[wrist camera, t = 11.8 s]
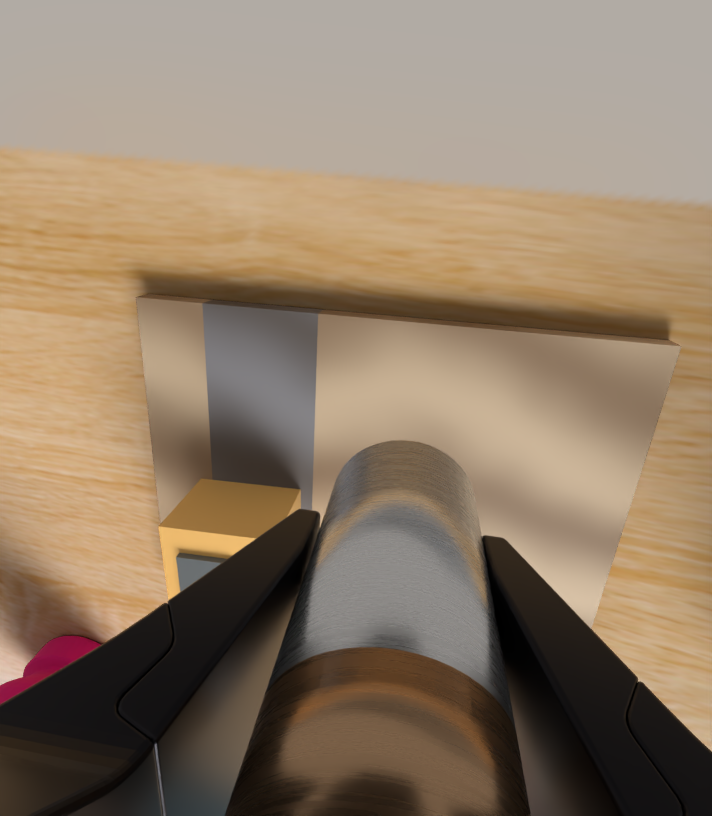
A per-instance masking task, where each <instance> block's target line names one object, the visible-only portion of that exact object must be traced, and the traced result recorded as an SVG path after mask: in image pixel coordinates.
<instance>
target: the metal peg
mask: <svg viewBox="0 0 712 816" xmlns="http://www.w3.org/2000/svg"><path fill="white" fill-rule="evenodd" d="M225 816H531V812H530V807H529V801H528V795H527V790H526V784H525V778H524V773H523V767H522V761H521V756H520V750H519V744H518V739H517V733H516V727H515V722H514V716H513V710H512V705H511V699H510V693H509V688H508V682H507V676H506V671H505V665H504V659H503V654H502V648H501V642H500V637H499V631H498V625H497V620H496V614H495V608H494V603H493V597H492V592H491V586H490V580H489V575H488V569H487V563H486V558H485V552H484V546H483V541H482V535H481V529H480V523H479V518H478V512H477V506H476V501H475V495H474V490H473V487H472V484H471V482H470V480H469V478H468V476H467V474H466V473H465V471H464V470H463V469H462V467H461V466H460V465H459V464H458V463H457V462H456V461H455V460H454V459H452V458H451V457H450V456H449V455H447V454H446V453H444V452H442V451H441V450H439V449H437V448H435V447H432V446H430V445H427V444H424V443H420V442H415V441H407V440H394V441H386V442H381V443H378V444H374V445H372V446H369V447H367V448H365V449H363V450H362V451H360V452H358V453H357V454H355V455H354V456H353V457H352V458H351V459H349V461H348V462H347V463H346V464H345V465H344V466H343V468H342V469H341V471H340V472H339V474H338V476H337V478H336V481H335V484H334V487H333V490H332V493H331V496H330V499H329V502H328V505H327V508H326V511H325V514H324V517H323V520H322V523H321V526H320V529H319V532H318V535H317V538H316V541H315V545H314V548H313V551H312V554H311V557H310V560H309V563H308V566H307V569H306V572H305V575H304V578H303V581H302V584H301V587H300V590H299V593H298V596H297V599H296V602H295V605H294V608H293V611H292V614H291V617H290V620H289V623H288V626H287V629H286V632H285V635H284V638H283V641H282V644H281V647H280V650H279V653H278V656H277V659H276V662H275V665H274V668H273V671H272V674H271V677H270V680H269V683H268V686H267V689H266V692H265V695H264V698H263V701H262V704H261V707H260V710H259V713H258V717H257V720H256V723H255V726H254V729H253V732H252V735H251V738H250V741H249V744H248V747H247V750H246V753H245V756H244V759H243V762H242V765H241V768H240V771H239V774H238V777H237V780H236V783H235V786H234V789H233V792H232V795H231V798H230V801H229V804H228V807H227V810H226V813H225Z"/></svg>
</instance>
